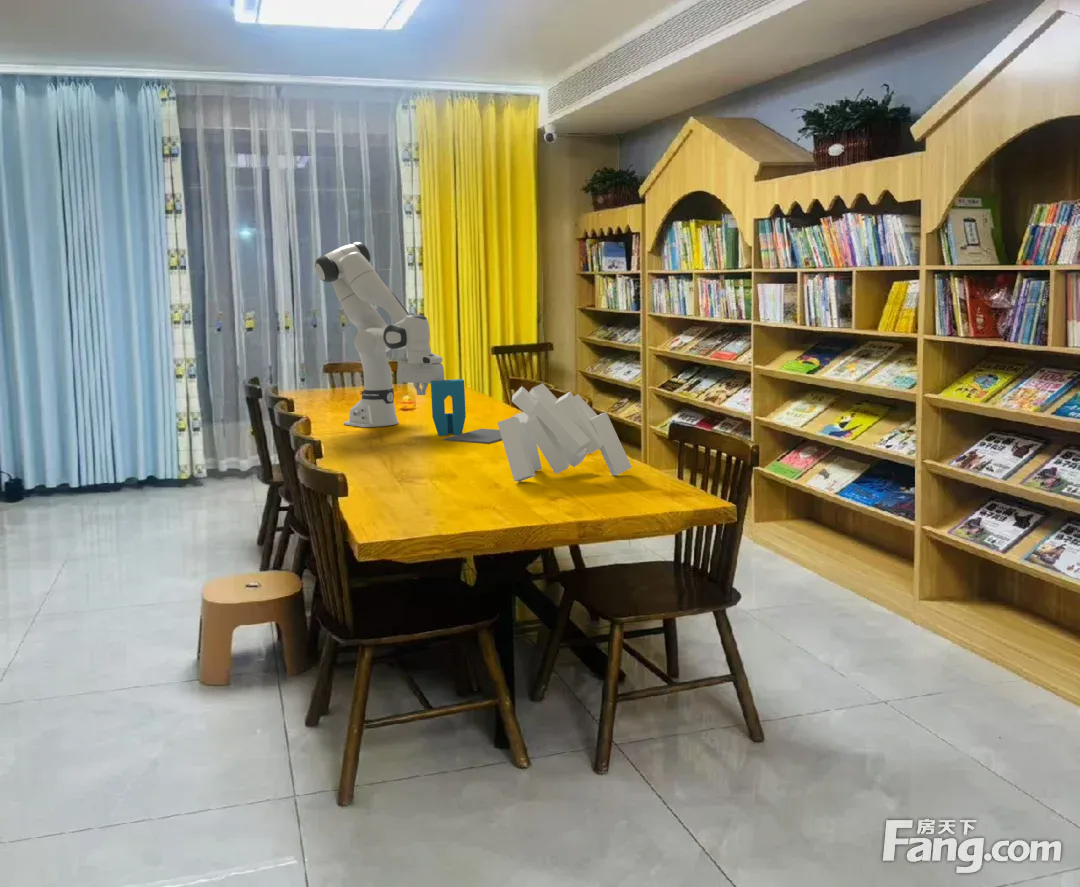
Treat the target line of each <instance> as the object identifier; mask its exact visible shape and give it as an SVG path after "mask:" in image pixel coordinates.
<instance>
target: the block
mask: <svg viewBox="0 0 1080 887" xmlns="http://www.w3.org/2000/svg"><path fill="white" fill-rule="evenodd" d="M430 395H431V413H432V416H431V417H432V421H433V423H434V426H435V429H436V432H437V435H438V436H439V437H444V436H447V437H448V435H452V436H455V435H459V434H463V430H464V426H465V421H466V417H467V415H466V396H465V395H466V394H465V379H462V378H457V379H444V380H442V381H431V383H430ZM449 396H450V398H451V403H452V406H451V407H452V412H450V413H449V412H448V413H446V410H445V409H446V407H445V400H446V399H447V398H448V397H449Z"/></svg>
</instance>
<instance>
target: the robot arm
mask: <svg viewBox="0 0 1080 887" xmlns="http://www.w3.org/2000/svg"><path fill="white" fill-rule="evenodd" d="M370 262H371V254H370V250H369V248H368V247H367V246H366V245H365V244H364V243H363V242H361V241H355V242H351V243H350V244H346V245H342V246H340V247H338V248H336V249H333V250H332V251H330V252H328V253H326V254H324V255H321V256H320V257H318V258H317V259H316V260H315V263H314V267H315V268H314V269H315V271H316V274H317V276H318V277H319V278H320V280H321V281H322V282H325V283H332V288H333V290H334V292H335V295H336V297H337V300H338V302H339V304H340V306H341V307H342V309H343V311H344V314H345V315H346V317H347V319H348V320H349V322H350V323H352V324H353V325H354V327H355V328H356V329H357V330H358V332H357V334H356V335H355V336H354V338H353V345H354V348H355V350H356V351H357V352H358V354H359V355H358V356H359V359H360V363H361V367H362V372H363V386H364V389H363V390H362V391H360V392H359V395H361V399H360V400H359V401H358V402H357V403H356V404H355V405H354V406H352V407H351V408H350V410H349V419H348V420H346V421H343V425H346V426H352V427H361V428H372V427H386V426H387V427H388V426H394V425H397V424H399V420H398V417H397V413H396V408H395V403H394V402H395V401H394V400H395V391H394V388H393V376H392V374H393V373H392V367H391V366H390V364H389V361H388V357H387V352H389V351H391V350H406V356H407V357H405V358H404V357H400V358H399V359H398V360H397V368H396V369H397V370H396V379H397V382H398V383H405V384H406V383H408V384H409V383H412V384H413V387H414V389H415V391H416V395H417V396H426V393H427V391H426V390H427V388H428V384H431V381H442V380H445V369H444V368H445V367H444V365H443V364H442V363H443V357H442V356H440V355H438V354H436V353H433V352H431V351H432V350H431V346H430V340H431V333H430V332H431V330H430V324H429V320H428V318H427V317H426V316H425V315H422V314H416V313H414V314H413V313H412V314H411V313H410V314H409V312H408V311H407V309H406V308H405V307H404V305H403V304H402V303H401V301H400V300H399V299H398V297H397V296H396V294H394V292H392V290H391V289H389V287H388V286H387V284H385V283H384V282H383V280H382V279H381V278H380V276H379V275H378V273H377V272H376V269H374V267H373V266H372V264H371V263H370ZM374 305H375V306H378V307H380V308H382V309H383V310H385V312H387V314H388V315H389V316H390V317H391V319H392V320H393V321H394V323H392V324H390V325H388V324H387V322H386V321H385V320H384V318H383V317H382V316H381V314H380V313H379V312H378V311H377V309H376V308H375V306H374ZM420 385H421V387H422V388H421V387H420Z"/></svg>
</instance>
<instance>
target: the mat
mask: <svg viewBox="0 0 1080 887" xmlns="http://www.w3.org/2000/svg"><path fill="white" fill-rule="evenodd" d="M442 440H443V441H447V442H461V443H475V444H485V445H486V444H488V445H490V444H492V443H497V442H500V441H503V440H502V437H501V434H500V430H499V429H495V428H493V429H492V428H479V429H476V430H471V431H467V432H464V433H463V432H462V434H459V435H452V436H447V437H444V438H443V439H442Z"/></svg>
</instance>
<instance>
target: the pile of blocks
mask: <svg viewBox="0 0 1080 887" xmlns="http://www.w3.org/2000/svg"><path fill="white" fill-rule="evenodd" d="M511 402H512V403H513V404H514V405H516V406H517V407H518V408H519V409H520V411H521V412H520V413H517V414H514V415H513V416H512V417H509V418H506V419H503V420H500V421H497V427H498V430H500V434H501V437H502V440H501V441H502V444H503V447H504V451H505V453H506V454H505V455H506V458H507V462H508V464H509V468H510V472H511V474H512V477H513V481H514V482H523V481H525V480H528V479H531V478H534V477H536V472H537V471H541V470H542V469H543V468H542V463H541V459H540V454H539V450H540V451H541V453H542V455H543V457H544V458H545V460H546V462H547V463H548V464H549V466H550V468H551V470H553V472H554V473H555V475H558V474H559V473H562V472H563V471H565V470H567V469H569V466H571V467H572V468H575V467H577V466H578V465H580V464H581V463H583V461H584V460H585V458H586V456H587V454H588V455H590V454H593V453H595V452H596V451H598V450H599V451H600V453H601V455H602V457H603V460H604V461H605V464H606V465H607V467H608V471H609V473H610V474H611V476H612V477H613V476H618V475H620V474H623V473H624V472H626V471H628V470H630V469H632V467H633V466H632V464H631V462H630V460H629V457H628V456H627V454H626V452H625V449H624V447H623V445H622V443H621V441H620V439H619V437H618V433H617V432H616V430H615V427H614V426H613V423H612V422H611V419H610V417H609V415H608V413H607V412H601V413H600V414H597V413H596V412H595V411H594V409H593V408H592V407H591V406H590V405H589V404H588V403H587V402H586V401H585V400H584V399H583V397H581V395H580V394H576V395H573V393H572V391H571V390H570V391H569V392H567V393H565V394H563V395H562V396H560V397H559V398H557V397H556V396H555V394H553V393H552V391H551V390H550V389H549V388H547V386H546V384H544V383H540V384H537V385H536V386H534V387H532V388H531V389H530V390H529V391H528V390H527V389H526V388H525V387H523V386H521V387H519V388H518V390H516V391H515V392H514V394H512V397H511Z"/></svg>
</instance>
